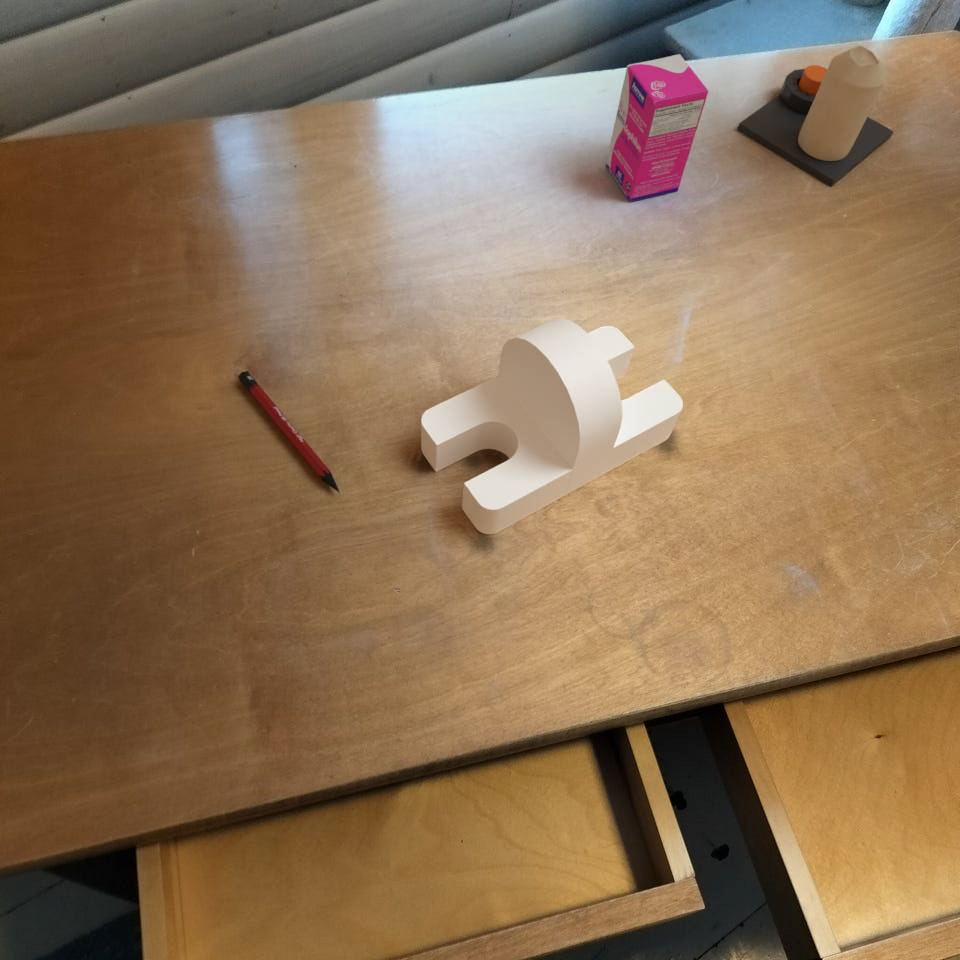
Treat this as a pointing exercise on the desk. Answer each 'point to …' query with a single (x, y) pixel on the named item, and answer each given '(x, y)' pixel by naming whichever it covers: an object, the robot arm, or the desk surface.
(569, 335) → the bracket
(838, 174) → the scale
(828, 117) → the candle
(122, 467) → the desk surface
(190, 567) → the desk surface
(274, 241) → the desk surface
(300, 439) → the pencil
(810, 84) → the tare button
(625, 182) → the supplement box
